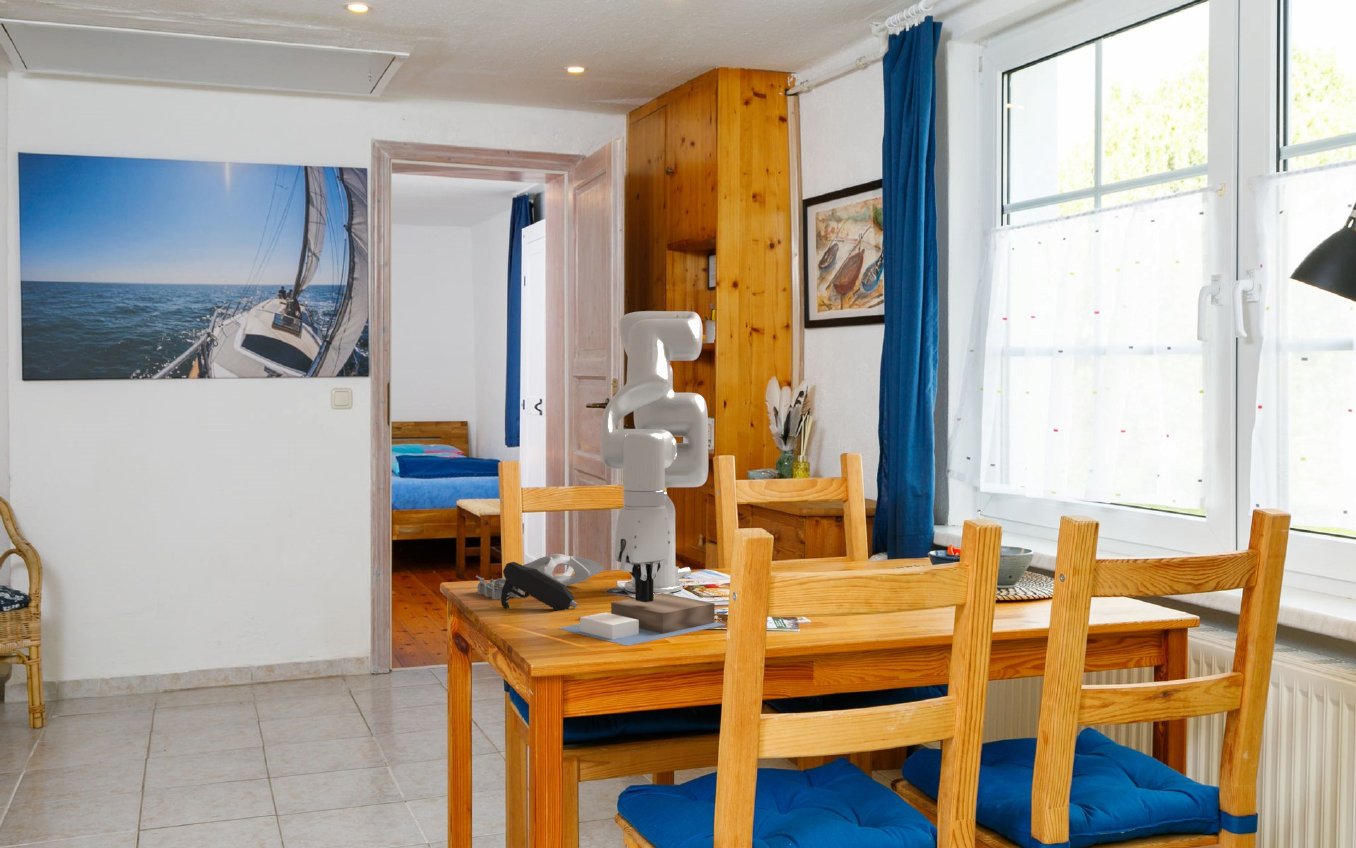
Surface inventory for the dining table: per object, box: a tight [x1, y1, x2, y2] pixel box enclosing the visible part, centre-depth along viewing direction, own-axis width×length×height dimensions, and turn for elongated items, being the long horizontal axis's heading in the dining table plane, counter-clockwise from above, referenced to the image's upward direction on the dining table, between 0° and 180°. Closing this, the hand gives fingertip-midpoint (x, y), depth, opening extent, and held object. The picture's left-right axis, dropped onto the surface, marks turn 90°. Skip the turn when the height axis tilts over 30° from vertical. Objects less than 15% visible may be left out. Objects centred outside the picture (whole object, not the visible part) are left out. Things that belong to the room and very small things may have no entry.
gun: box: [500, 561, 578, 612], centre depth 220 cm, size 3×16×10 cm, turn 79°
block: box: [610, 593, 716, 634], centre depth 206 cm, size 13×14×4 cm
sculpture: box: [522, 553, 605, 587], centre depth 249 cm, size 18×20×6 cm
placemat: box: [557, 621, 727, 647], centre depth 202 cm, size 24×19×1 cm
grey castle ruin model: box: [475, 574, 524, 600], centre depth 236 cm, size 11×8×4 cm
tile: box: [579, 612, 639, 639], centre depth 197 cm, size 6×9×2 cm, turn 43°
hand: (644, 600), depth 202 cm, fingers closed
